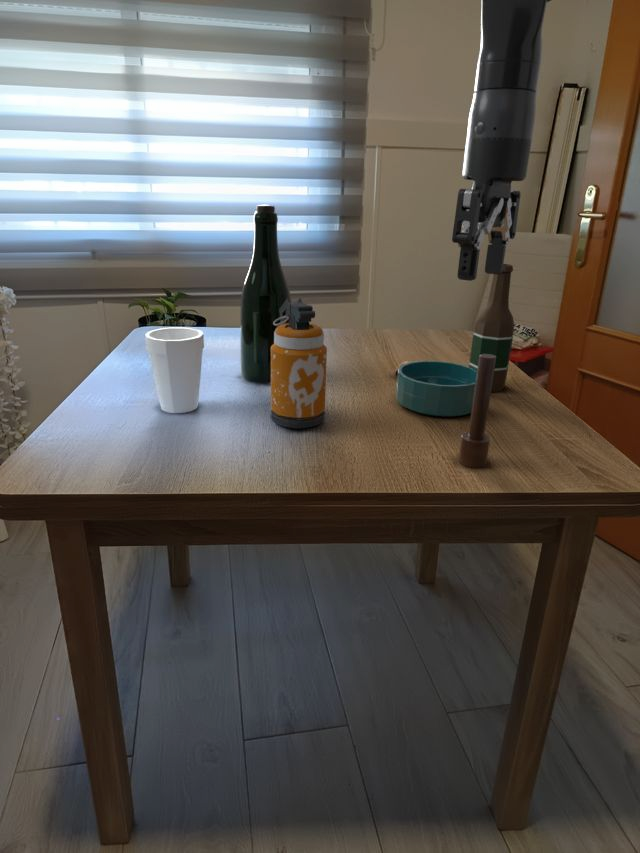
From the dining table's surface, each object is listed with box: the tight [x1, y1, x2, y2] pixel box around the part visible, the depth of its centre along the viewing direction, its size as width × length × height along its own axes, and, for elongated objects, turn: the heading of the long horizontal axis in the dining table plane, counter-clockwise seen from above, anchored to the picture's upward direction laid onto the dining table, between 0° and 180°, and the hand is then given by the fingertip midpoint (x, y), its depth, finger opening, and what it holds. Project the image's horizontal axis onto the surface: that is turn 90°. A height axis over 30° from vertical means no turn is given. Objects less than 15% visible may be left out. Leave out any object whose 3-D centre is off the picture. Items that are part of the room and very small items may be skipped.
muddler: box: [457, 354, 496, 469], centre depth 81 cm, size 4×4×16 cm
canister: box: [270, 297, 328, 429], centre depth 93 cm, size 9×11×20 cm
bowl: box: [395, 360, 477, 418], centre depth 105 cm, size 15×15×6 cm
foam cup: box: [144, 327, 205, 414], centre depth 98 cm, size 10×9×13 cm
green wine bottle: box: [240, 204, 292, 384], centre depth 111 cm, size 10×10×33 cm
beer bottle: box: [468, 263, 515, 393], centre depth 112 cm, size 8×8×24 cm
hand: (480, 276), depth 74 cm, fingers open, 8 cm apart
